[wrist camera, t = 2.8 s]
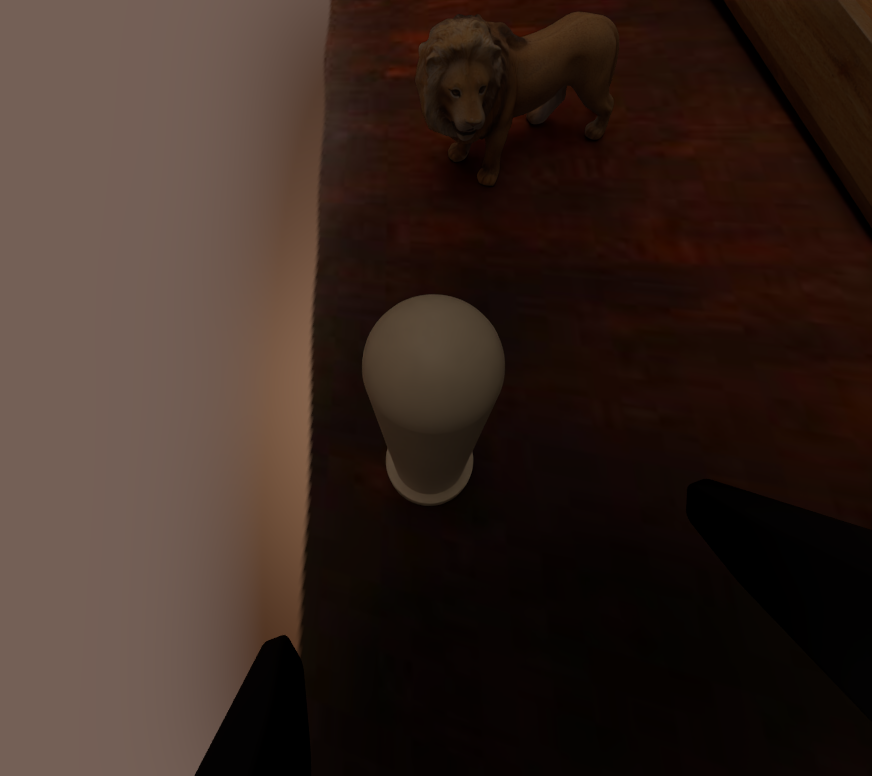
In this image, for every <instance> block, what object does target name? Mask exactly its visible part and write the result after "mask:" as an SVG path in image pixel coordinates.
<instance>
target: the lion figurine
mask: <svg viewBox="0 0 872 776" xmlns="http://www.w3.org/2000/svg"><path fill="white" fill-rule="evenodd" d="M618 52H619V35H618V31H617V28H616V26H615V25H614V23H613V22H612V21H611V20H610V19H608V18H607V17H605V16H602V15H596V14H591V13H584V12H574V13H571V14H569V15H567V16H565V17H564V18H562V19H560V20H559V21H557V22H555V23H554V24H552V25H550V26H549V27H547V28H545V29H542V30H540V31H538V32H536V33H533V34H530V35H527V36H524V37H518V36H516V35H515V34H513V33H512V31H511V30H510V28H508V27H507V26H506V25H505V24H504V23H502V22H498V23H493V22H486V21H484V20H483V19H482V18H481V16H480V15H475V16H471V15H469V16H464V15H460V14H458V15H456V16H455V17H454V19H446V20H444V21H442V22H441V23H439V24H437V25H436V26H435V27H433V28H432V29H431V31H430V35H429V39H428V40H427V41H426V42H423V43H422V44H421V45H420V46H419V55H420V58H419V61H418V65H417V71H416V77H415V81H416V86H417V89H418V93H419V95H420V102H421V106H422V112H423V116H424V118H425V120H426V123H427V125H428V127H429V129H432V130H433V131H434V132H438V133H441V134H443V135H446V136H450V137H451V138H453V139H454V140H455V141H456V142H457V143H453V144H452V145H451V146H450V149H449V150H448V156H449V158H450V159H451V160H453V161H454V162H459V161H462V160H464V159H465V158H466V157H467V155H468V153H469V150H470V147H471V144H472V143H473V142H475V141H477V140H479V139H484V138H485V141H486V153H485V156H484V160H483V162H482V168H481V169H480V170H479V172H478V174H477V178H478V181H479V183H480V184H483V185H486V186H493V185H494V184H495V182H496V180H497V177H498V174H499V170H500V155H501V153H502V150H503V146H504V144H505V142H506V139H507V135H508V131H509V129H510V127H511V124H512V118H513V117H517V116H520V115H523V114H526V113H527V116H526V118H527V119H528V121H529V122H530V123H531V124H540V123H543V122H544V121H545V120H546V119H547V118H548V117H549V115H550V114H551V113H552V112H553V111H554V110H555V109H556V108H557V107H558V106H559V104H560V103H561V102H562V101H563V100H564V99H565V95H566V88H567V85H569V86H571V87H572V88H573V89H574V90H575V92H576V93H577V95H578V97H579V98H580V100H581V101H582V103H583V104H584V106H586V107H587V108H588V109H590V110H592V111H593V112H594V113H596V114H597V115H598V117H597V118H596V120H594V121H593V122H590V123H589V124H588V125H587V126H586V128H585V136H587V137H588V138H589V139H592V140H597V139H599V138H601V137H602V135H603V134H604V132H605V129H606V127H607V124H608V121H609V117H610V115H611V112H612V109H613V104H614V100H613V98H612V96H611V95H610V94H609V86H610V83H611V81H612V77H613V74H614V70H615V67H616V62H617V58H618Z"/></svg>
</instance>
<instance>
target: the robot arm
mask: <svg viewBox="0 0 872 776" xmlns="http://www.w3.org/2000/svg"><path fill="white" fill-rule="evenodd" d="M686 513H687V516H688V519H689V521H690V522H691V524H692V525H693V526H694V527H695V529H696V530H697V531H698V532H699V534H700V535H701V536H702V537H703V539H704V540H705V541H706V542H707V544H708V545H709V546H710V547H711V549H712V550H713V551H714V552H715V554H716V555H717V556H718V557H719V559H720V560H721V561H722V562H723V564H724V565H725V566H726V567H727V569H728V570H729V571H730V572H731V574H732V575H733V576H734V577H735V578H736V580H737V581H738V582H739V583H740V584H741V585H742V586H743V587H744V588H745V590H746V591H747V592H748V593H749V594H750V595H751V596H752V597H753V598H754V599H755V600H756V601H757V602H758V603H759V604H760V605H761V606H762V607H763V608H764V610H765V611H766V612H767V613H768V614H769V615H770V616H771V617H772V618H773V619H774V620H775V621H776V622H777V623H778V624H779V625H780V626H781V627H782V628H783V629H784V630H785V631H786V633H787V634H788V635H789V636H790V637H791V638H792V639H793V640H794V641H795V642H796V643H797V644H798V645H799V646H800V647H801V648H802V649H803V650H804V651H805V652H806V653H807V654H808V656H809V657H810V658H811V659H812V660H813V661H814V662H815V663H816V664H817V665H818V666H819V667H820V668H821V669H822V670H823V671H824V672H825V673H826V674H827V675H828V676H829V678H830V679H831V680H832V681H833V682H834V683H835V684H836V685H837V686H838V687H839V688H840V689H841V690H842V691H843V692H844V693H845V694H846V695H847V696H848V697H849V698H850V699H851V701H852V702H853V703H854V704H855V705H856V706H857V707H858V708H859V709H860V710H861V711H862V712H863V713H864V714H865V715H866V716H867V717H868V718H869V719H870V720H871V721H872V530H870V529H867V528H863V527H860V526H857V525H854V524H851V523H847V522H844V521H841V520H838V519H835V518H832V517H828V516H825V515H822V514H819V513H816V512H812V511H809V510H806V509H803V508H800V507H796V506H793V505H790V504H787V503H784V502H781V501H777V500H774V499H771V498H768V497H765V496H761V495H758V494H755V493H752V492H749V491H746V490H742V489H739V488H736V487H733V486H730V485H726V484H723V483H720V482H717V481H714V480H710V479H702V480H699V481H697V482H694V483H691V484H690V485H689V486H688V489H687V505H686ZM195 776H311V751H310V737H309V726H308V714H307V703H306V691H305V679H304V669H303V664H302V661H301V659H300V657H299V655H298V653H297V651H296V650H295V648H294V647H293V645H292V643H291V641H290V639H289V638H288V637H287V636H286V635H282V636H279V637H277V638H274V639H271V640H268V641H266V642H265V643H264V644H263V646H262V647H261V649H260V651H259V653H258V655H257V657H256V659H255V661H254V662H253V664H252V666H251V668H250V670H249V672H248V674H247V676H246V678H245V680H244V682H243V684H242V685H241V687H240V689H239V691H238V693H237V695H236V697H235V699H234V701H233V703H232V705H231V707H230V709H229V710H228V712H227V714H226V716H225V719H224V720H223V722H222V724H221V726H220V728H219V730H218V732H217V733H216V735H215V737H214V739H213V741H212V743H211V745H210V747H209V749H208V751H207V753H206V755H205V756H204V758H203V760H202V762H201V764H200V766H199V768H198V770H197V772H196V774H195Z"/></svg>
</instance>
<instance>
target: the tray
mask: <svg viewBox="0 0 872 776" xmlns="http://www.w3.org/2000/svg"><path fill="white" fill-rule="evenodd" d="M724 2H725V3H726V5H727V6H728V8H729V9H730V11H731V12H732V14H733V16H734V17H735V19H736V20H737V22H738V23H739V25H740V26H741V28H742V29H743V31H744V32H745V34H746V35H747V37H748V38H749V40H750V41H751V43H752V44H753V46H754V47H755V49H756V50H757V52H758V54H759V55H760V57H761V58H762V60H763V61H764V63H765V64H766V66H767V67H768V69H769V70H770V72H771V73H772V75H773V77H774V78H775V80H776V81H777V83H778V84H779V86H780V87H781V89H782V91H783V92H784V94H785V95H786V97H787V98H788V100H789V102H790V103H791V105H792V106H793V108H794V109H795V111H796V112H797V114H798V115H799V117H800V118H801V120H802V122H803V123H804V125H805V126H806V128H807V129H808V131H809V132H810V134H811V135H812V137H813V138H814V140H815V141H816V143H817V144H818V146H819V147H820V149H821V150H822V152H823V153H824V155H825V156H826V158H827V160H828V162H829V163H830V165H831V166H832V168H833V169H834V171H835V172H836V174H837V175H838V177H839V179H840V180H841V182H842V183H843V185H844V186H845V188H846V189H847V191H848V192H849V194H850V196H851V197H852V199H853V200H854V202H855V203H856V205H857V206H858V207H859V209H860V210H861V212H862V214H863V215H864V217H865V219H866V220H867V222H868V223H869V225H870V227H871V228H872V0H724Z"/></svg>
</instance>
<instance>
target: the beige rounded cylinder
mask: <svg viewBox="0 0 872 776" xmlns="http://www.w3.org/2000/svg"><path fill="white" fill-rule="evenodd" d="M362 374H363V381H364V384H365V388H366V391H367V393H368V396H369V399H370V401H371V404H372V407H373V409H374V412H375V415H376V418H377V420H378V423H379V426H380V428H381V431H382V434H383V436H384V439H385V442H386V444H387V447H388V449H387V453H386V468H387V472H388V475H389V478H390V480H391V482H392V484H393V486H394V487H395V489H396V490H397V491H398V492H399V493H400V494H401V495H402V496H403V497H404V498H405V499H407V500H409V501H411V502H413V503H415V504H418V505H423V506H435V505H440V504H444V503H446V502H448V501H450V500H452V499H453V498H455V497H456V496H457V495H458V494H459V493H460V492H461V491H462V490H463V488H464V487H465V485H466V484H467V482H468V480H469V478H470V476H471V473H472V468H473V453H472V451H473V449H474V447H475V445H476V442H477V440H478V438H479V436H480V434H481V432H482V430H483V427H484V425H485V423H486V421H487V419H488V417H489V415H490V413H491V410H492V408H493V406H494V404H495V402H496V400H497V398H498V396H499V393H500V391H501V388H502V385H503V381H504V374H505V360H504V352H503V348H502V344H501V342H500V339H499V337H498V334H497V332H496V331H495V329H494V327H493V326H492V324H491V323H490V322H489V320H488V319H487V318H486V317H485V316H484V315H483V314H482V313H481V312H480V311H478V310H477V309H476V308H475V307H473V306H472V305H470V304H468V303H466V302H464V301H462V300H460V299H457V298H454V297H450V296H446V295H437V294H435V295H421V296H417V297H413V298H410V299H407V300H405V301H403V302H401V303H399V304H397V305H396V306H394V307H393V308H391V309H390V310H389V311H387V312H386V313H385V314H384V315H383V316H382V317H381V318H380V319H379V320H378V322H377V323H376V324H375V326H374V327H373V329H372V331H371V333H370V335H369V337H368V339H367V341H366V345H365V348H364V353H363V359H362Z"/></svg>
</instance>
